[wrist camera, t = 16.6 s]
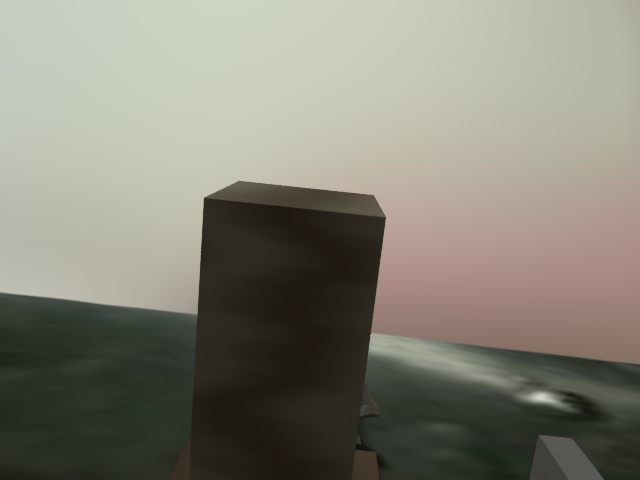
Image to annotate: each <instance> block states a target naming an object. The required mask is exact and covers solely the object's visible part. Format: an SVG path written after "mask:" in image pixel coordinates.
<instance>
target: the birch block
mask: <svg viewBox="0 0 640 480" xmlns="http://www.w3.org/2000/svg"><path fill="white" fill-rule="evenodd" d="M385 220H386V217H385V215H384V213H383V211H382V210H381V208H380V206H379V204H378V202H377V201H376V199H375V197H374V195H366V194H357V193H347V192H338V191H328V190H319V189H310V188H300V187H291V186H281V185H272V184H263V183H252V182H243V181H238V182H236V183H234V184H232V185H230V186H228V187H226V188H224V189H222V190H219V191H217V192H215V193H213V194H211V195H209V196H207V197H205V198H204V208H203V227H202V244H201V245H202V246H201V263H200V282H199V299H198V317H197V336H196V354H195V372H194V391H193V409H192V427H191V445H190V464H189V480H351V479H352V472H353V464H354V456H355V449H356V441H357V433H358V426H359V418H360V411H361V403H362V395H363V388H364V380H365V372H366V365H367V357H368V350H369V342H370V334H371V327H372V319H373V310H374V304H375V296H376V288H377V281H378V272H379V266H380V257H381V251H382V243H383V235H384V228H385Z"/></svg>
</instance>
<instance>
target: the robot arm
mask: <svg viewBox="0 0 640 480" xmlns="http://www.w3.org/2000/svg"><path fill="white" fill-rule="evenodd" d="M529 480H604V479H603V478H602V477H601V475H600V474H599V473H598V471H597V470H596V469H595V468H594V466H593V465H592V464H591V462H590V461H589V460H588V458H587V457H586V456H585V455H584V453H583V452H582V451H581V449H580V448H579V447H578V446H577V444H576V443H575V442H574V440H573V439H571V438H562V437H553V436H544V435H539V437H538V441H537V446H536V451H535V455H534V460H533V465H532V469H531V474H530V479H529Z"/></svg>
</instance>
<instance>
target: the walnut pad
mask: <svg viewBox="0 0 640 480" xmlns="http://www.w3.org/2000/svg"><path fill="white" fill-rule="evenodd" d="M190 445H191V435H190V437H189V439H188V441H187V443H186V445H185V447H184V449H183V451H182V453H181V455H180V457H179V459H178V461H177V463H176V465H175V467H174V469H173V471H172V473H171V475H170V477H169V479H168V480H189V464H190ZM351 480H379V474H378V465H377V456H376V452H369V451H360V450H355V456H354V464H353V472H352V479H351Z"/></svg>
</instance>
